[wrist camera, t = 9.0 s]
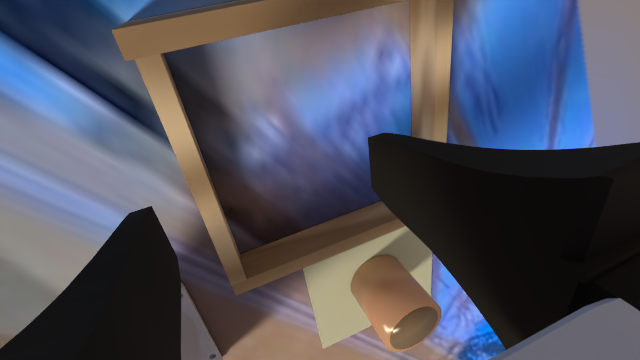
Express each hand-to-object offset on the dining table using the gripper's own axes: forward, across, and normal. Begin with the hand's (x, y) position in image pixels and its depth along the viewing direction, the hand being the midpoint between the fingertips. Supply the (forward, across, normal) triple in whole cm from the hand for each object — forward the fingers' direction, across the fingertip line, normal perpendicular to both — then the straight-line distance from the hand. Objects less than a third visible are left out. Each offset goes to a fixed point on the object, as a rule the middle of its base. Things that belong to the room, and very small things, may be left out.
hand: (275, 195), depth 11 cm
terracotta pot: (+9, -8, +17) cm, 21 cm away
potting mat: (+9, -8, +18) cm, 21 cm away
